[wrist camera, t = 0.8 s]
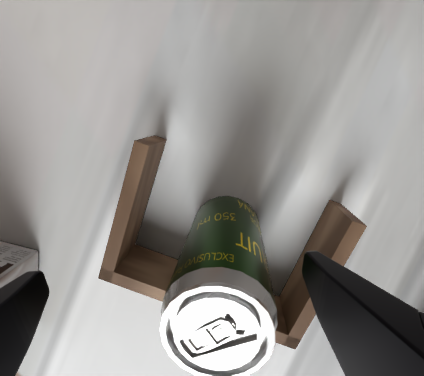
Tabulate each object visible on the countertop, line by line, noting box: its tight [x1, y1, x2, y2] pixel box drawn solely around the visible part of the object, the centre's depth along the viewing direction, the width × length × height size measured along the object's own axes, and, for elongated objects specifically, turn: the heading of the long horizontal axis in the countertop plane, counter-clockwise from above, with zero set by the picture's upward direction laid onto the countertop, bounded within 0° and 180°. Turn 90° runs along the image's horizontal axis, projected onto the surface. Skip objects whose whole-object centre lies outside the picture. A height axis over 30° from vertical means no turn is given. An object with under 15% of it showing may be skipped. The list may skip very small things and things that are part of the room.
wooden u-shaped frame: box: [98, 135, 367, 349], centre depth 21 cm, size 16×11×4 cm
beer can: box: [160, 196, 277, 376], centre depth 17 cm, size 5×5×12 cm
